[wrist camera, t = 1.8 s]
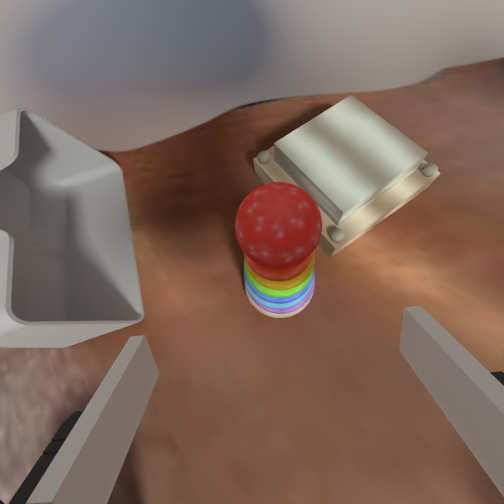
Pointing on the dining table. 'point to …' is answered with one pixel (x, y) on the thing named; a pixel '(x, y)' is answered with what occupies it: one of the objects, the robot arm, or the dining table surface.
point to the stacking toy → (279, 247)
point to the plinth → (348, 169)
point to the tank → (61, 238)
